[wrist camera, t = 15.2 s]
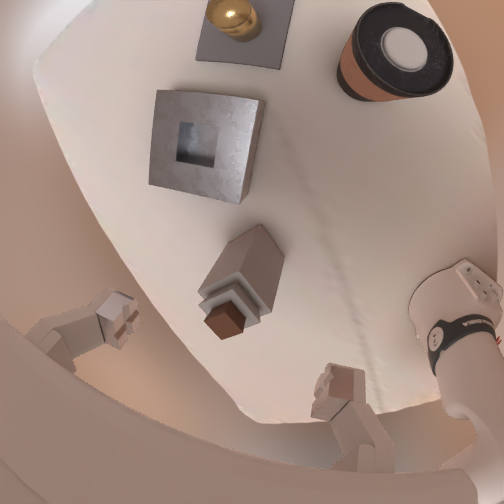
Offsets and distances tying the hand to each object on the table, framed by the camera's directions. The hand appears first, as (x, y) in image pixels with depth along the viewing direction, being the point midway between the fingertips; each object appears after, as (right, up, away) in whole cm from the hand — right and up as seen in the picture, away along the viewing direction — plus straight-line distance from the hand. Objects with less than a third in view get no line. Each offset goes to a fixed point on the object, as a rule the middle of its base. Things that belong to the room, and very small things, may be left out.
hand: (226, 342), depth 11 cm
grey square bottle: (+2, +4, +35) cm, 35 cm away
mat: (0, +34, +18) cm, 39 cm away
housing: (-5, +20, +28) cm, 34 cm away
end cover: (0, +34, +17) cm, 38 cm away
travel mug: (+16, +27, +19) cm, 36 cm away
